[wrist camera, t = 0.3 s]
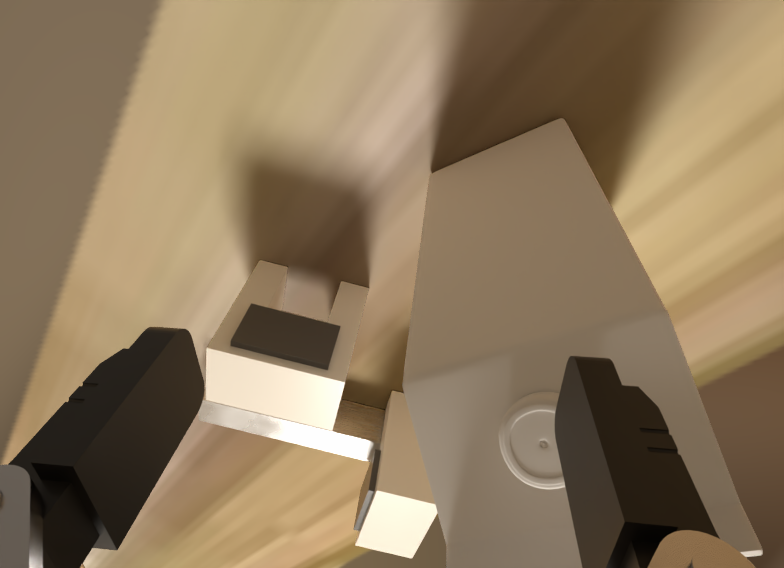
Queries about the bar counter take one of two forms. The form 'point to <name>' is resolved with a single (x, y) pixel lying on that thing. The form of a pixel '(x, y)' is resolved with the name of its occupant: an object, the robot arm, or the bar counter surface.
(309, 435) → the rail
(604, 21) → the bar counter surface
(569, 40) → the bar counter surface
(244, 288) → the cream rectangular block
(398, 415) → the block
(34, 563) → the robot arm
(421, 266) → the milk carton
